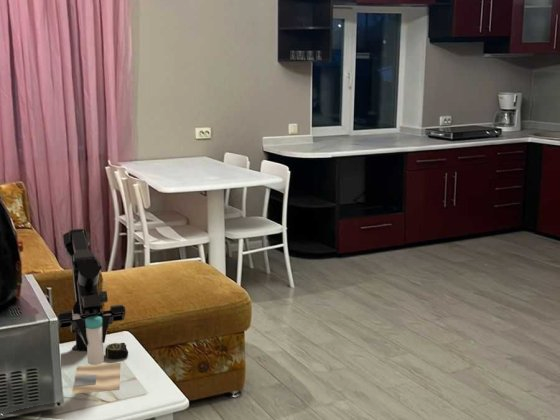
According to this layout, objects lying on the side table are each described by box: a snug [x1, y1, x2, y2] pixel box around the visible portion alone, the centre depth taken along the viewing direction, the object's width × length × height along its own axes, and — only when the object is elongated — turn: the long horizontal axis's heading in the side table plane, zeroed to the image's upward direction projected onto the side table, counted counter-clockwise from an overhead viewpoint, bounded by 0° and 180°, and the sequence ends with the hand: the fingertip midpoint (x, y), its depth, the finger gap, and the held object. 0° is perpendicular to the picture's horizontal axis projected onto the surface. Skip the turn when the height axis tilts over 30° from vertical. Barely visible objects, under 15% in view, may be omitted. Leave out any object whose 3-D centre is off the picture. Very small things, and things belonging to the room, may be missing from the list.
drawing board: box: [71, 362, 122, 395], centre depth 200 cm, size 18×13×1 cm
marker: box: [85, 316, 105, 365], centre depth 194 cm, size 5×5×13 cm
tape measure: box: [104, 342, 129, 360], centre depth 216 cm, size 7×7×4 cm
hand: (95, 343), depth 193 cm, fingers closed on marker, 4 cm apart
